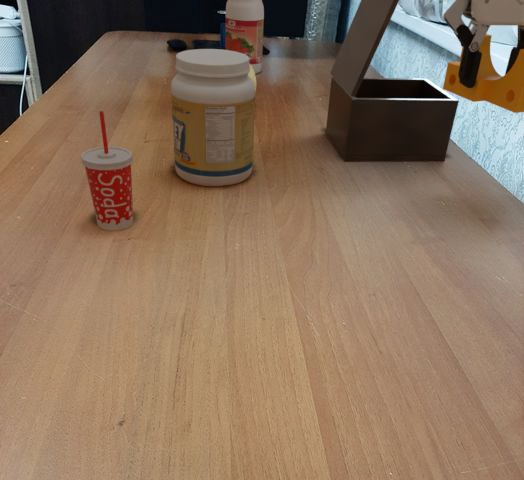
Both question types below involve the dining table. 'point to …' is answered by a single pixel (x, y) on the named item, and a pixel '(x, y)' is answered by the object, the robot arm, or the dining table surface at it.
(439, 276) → the dining table surface
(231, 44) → the fruit juice
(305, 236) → the dining table surface
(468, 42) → the robot arm
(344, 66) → the chest lid
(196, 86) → the supplement tub
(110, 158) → the beverage cup
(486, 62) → the pipe clamp
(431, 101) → the chest
